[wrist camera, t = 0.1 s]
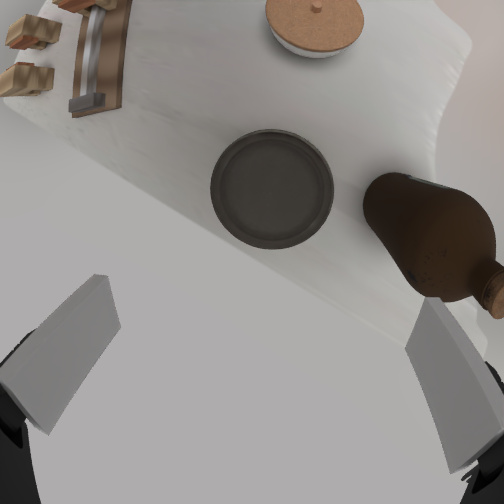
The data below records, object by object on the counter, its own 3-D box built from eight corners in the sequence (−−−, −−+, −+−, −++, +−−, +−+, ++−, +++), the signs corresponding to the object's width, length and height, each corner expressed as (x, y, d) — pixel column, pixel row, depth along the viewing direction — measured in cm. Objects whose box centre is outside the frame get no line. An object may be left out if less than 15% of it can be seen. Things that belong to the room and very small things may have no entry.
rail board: (94, -10, 23) (80, -17, 19) (137, -26, 23) (125, -37, 18) (77, 117, 34) (59, 118, 30) (121, 107, 33) (104, 106, 29)
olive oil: (396, 252, 38) (483, 372, 15) (344, 214, 36) (422, 332, 14) (435, 197, 33) (557, 274, 11) (385, 152, 32) (521, 191, 9)
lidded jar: (265, 62, 29) (260, 38, 21) (271, -1, 25) (268, -35, 16) (347, 74, 29) (367, 55, 20) (349, 11, 24) (367, -19, 16)
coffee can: (316, 207, 36) (334, 247, 24) (240, 211, 38) (218, 252, 25) (312, 131, 32) (331, 127, 20) (232, 136, 34) (203, 136, 21)
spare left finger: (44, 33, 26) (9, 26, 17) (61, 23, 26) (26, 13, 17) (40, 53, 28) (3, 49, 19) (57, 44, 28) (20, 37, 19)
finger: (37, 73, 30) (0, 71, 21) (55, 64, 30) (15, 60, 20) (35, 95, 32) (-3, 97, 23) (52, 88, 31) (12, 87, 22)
